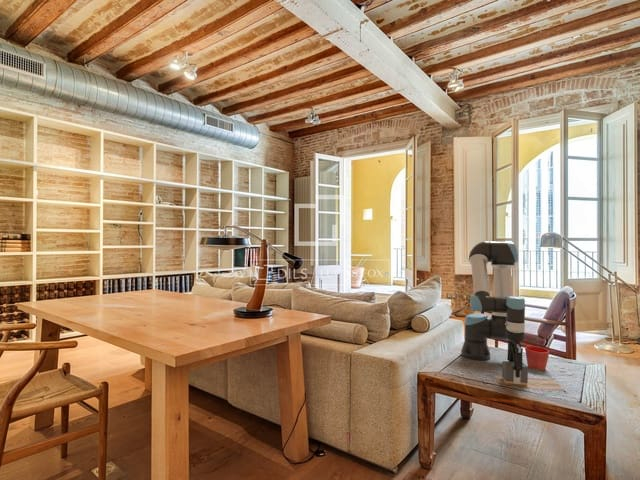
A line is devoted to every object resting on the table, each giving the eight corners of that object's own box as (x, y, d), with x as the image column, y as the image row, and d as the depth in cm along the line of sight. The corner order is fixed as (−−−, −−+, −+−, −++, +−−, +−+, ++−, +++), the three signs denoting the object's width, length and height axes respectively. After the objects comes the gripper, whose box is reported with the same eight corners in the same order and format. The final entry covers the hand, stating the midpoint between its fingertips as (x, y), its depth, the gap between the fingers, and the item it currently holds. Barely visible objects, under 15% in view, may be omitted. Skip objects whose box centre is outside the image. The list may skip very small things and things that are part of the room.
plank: (493, 376, 177) (493, 374, 177) (553, 381, 172) (553, 379, 172) (500, 387, 164) (500, 385, 164) (565, 393, 159) (565, 391, 159)
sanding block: (502, 377, 173) (502, 361, 173) (522, 379, 171) (523, 362, 171) (505, 383, 167) (506, 365, 167) (527, 384, 165) (527, 367, 165)
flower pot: (542, 364, 194) (542, 346, 194) (553, 372, 184) (553, 352, 183) (521, 363, 196) (521, 345, 195) (530, 371, 185) (531, 352, 184)
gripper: (500, 325, 179) (499, 372, 179) (512, 335, 160) (512, 388, 161) (517, 326, 177) (516, 373, 178) (531, 337, 159) (530, 390, 159)
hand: (514, 380), depth 169 cm, fingers closed on sanding block, 6 cm apart
